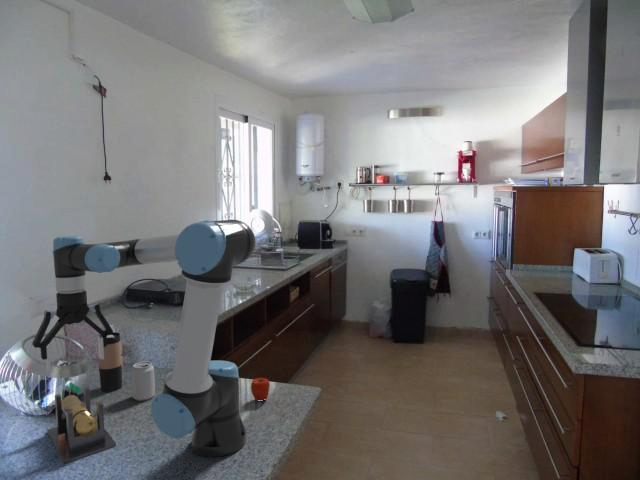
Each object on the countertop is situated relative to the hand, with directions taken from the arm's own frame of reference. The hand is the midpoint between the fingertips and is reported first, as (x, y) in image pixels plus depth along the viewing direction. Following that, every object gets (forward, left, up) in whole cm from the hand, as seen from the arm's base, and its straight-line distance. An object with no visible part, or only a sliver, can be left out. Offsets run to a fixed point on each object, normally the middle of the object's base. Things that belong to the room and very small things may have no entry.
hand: (76, 364), depth 130 cm
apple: (-14, -53, -23) cm, 59 cm away
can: (+16, -24, -23) cm, 36 cm away
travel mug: (+32, -18, -22) cm, 43 cm away
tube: (0, +1, -17) cm, 17 cm away
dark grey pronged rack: (0, 0, -22) cm, 22 cm away
